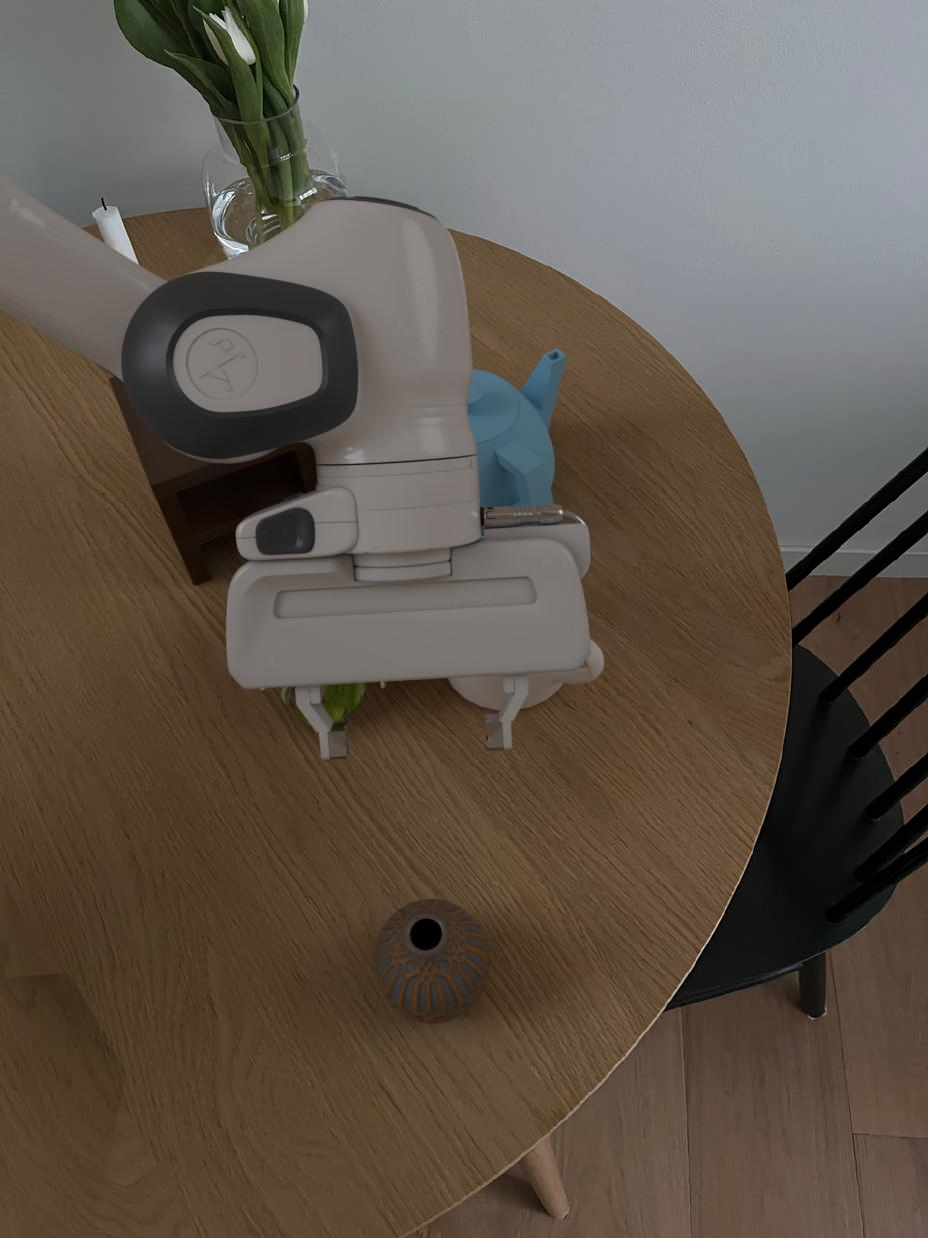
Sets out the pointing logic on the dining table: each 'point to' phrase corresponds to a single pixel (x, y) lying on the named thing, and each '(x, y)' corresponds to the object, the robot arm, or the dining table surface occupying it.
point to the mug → (540, 684)
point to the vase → (431, 961)
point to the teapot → (515, 434)
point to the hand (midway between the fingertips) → (417, 752)
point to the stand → (213, 486)
